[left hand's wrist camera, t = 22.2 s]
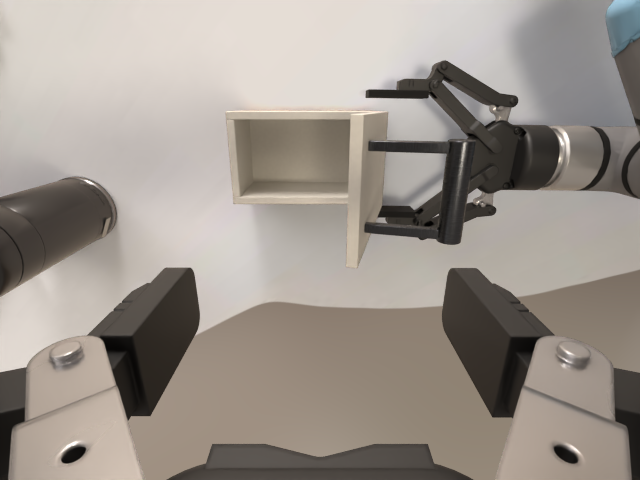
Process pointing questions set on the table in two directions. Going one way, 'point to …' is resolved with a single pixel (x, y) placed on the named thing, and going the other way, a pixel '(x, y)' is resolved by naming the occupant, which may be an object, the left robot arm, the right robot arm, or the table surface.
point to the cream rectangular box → (289, 156)
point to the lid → (369, 181)
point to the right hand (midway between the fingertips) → (363, 155)
